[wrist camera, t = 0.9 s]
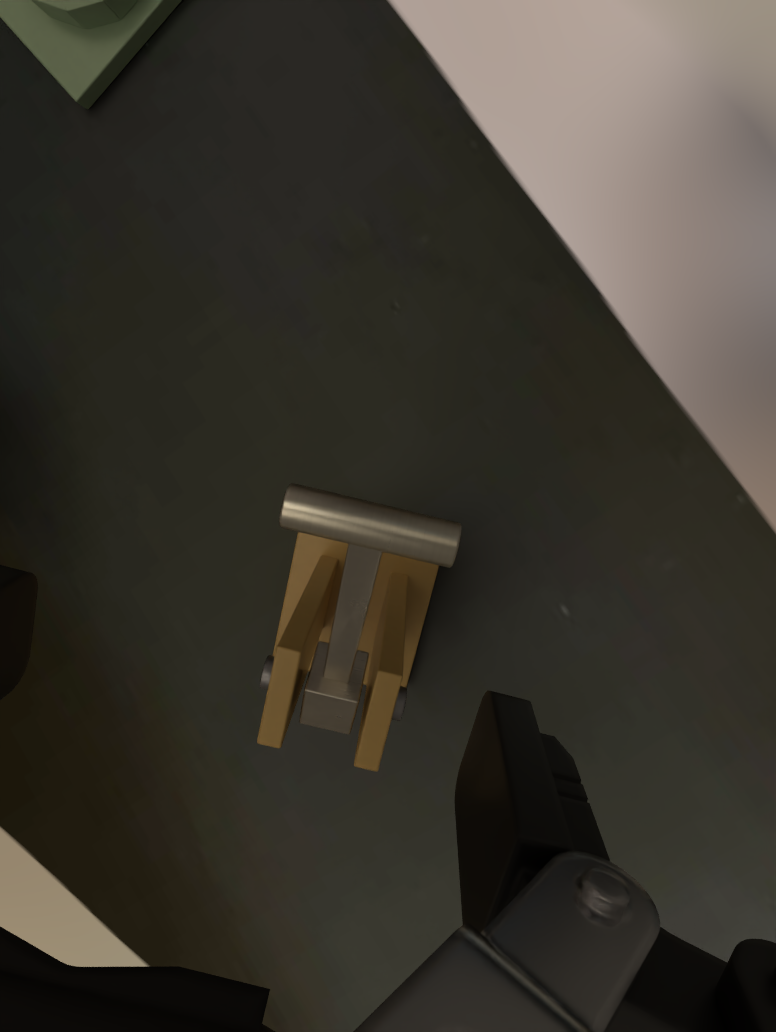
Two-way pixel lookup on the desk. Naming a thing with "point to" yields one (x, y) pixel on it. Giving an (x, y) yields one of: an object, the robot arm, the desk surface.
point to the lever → (356, 585)
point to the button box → (85, 37)
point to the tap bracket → (383, 637)
